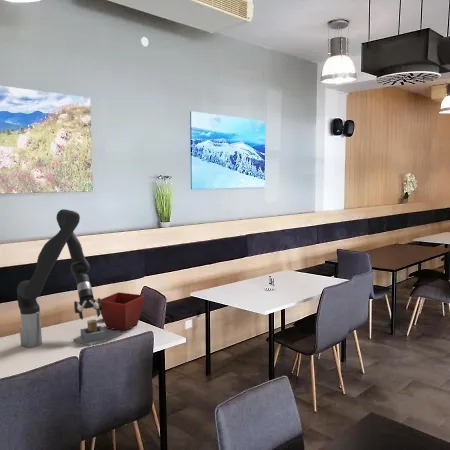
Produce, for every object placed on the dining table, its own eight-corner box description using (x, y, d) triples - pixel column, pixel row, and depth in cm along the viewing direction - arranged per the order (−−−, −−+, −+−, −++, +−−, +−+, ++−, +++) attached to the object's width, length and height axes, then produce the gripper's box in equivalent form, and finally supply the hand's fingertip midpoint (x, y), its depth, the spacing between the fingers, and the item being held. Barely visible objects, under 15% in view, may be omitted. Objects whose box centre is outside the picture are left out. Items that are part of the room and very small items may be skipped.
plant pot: (125, 333, 246) (124, 303, 244) (98, 329, 254) (96, 300, 252) (145, 323, 263) (144, 295, 261) (119, 319, 271) (118, 292, 269)
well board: (90, 346, 228) (89, 336, 228) (73, 340, 237) (73, 331, 236) (121, 334, 244) (120, 325, 244) (104, 329, 253) (103, 321, 252)
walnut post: (89, 339, 235) (88, 322, 234) (88, 337, 239) (87, 320, 238) (97, 338, 237) (96, 321, 236) (95, 335, 241) (95, 319, 240)
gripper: (72, 289, 243) (77, 316, 234) (99, 286, 249) (104, 311, 241) (71, 297, 248) (76, 323, 239) (97, 293, 255) (102, 318, 246)
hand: (90, 317), depth 240 cm, fingers open, 8 cm apart
